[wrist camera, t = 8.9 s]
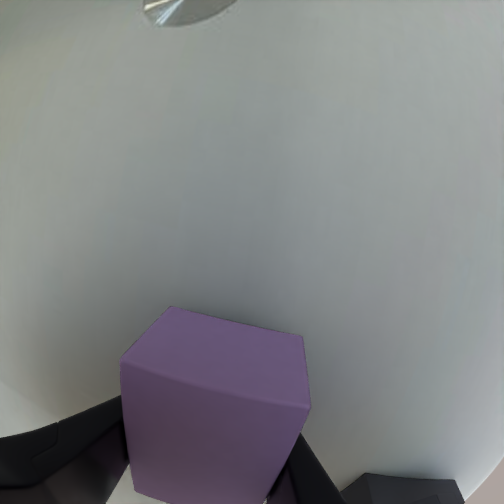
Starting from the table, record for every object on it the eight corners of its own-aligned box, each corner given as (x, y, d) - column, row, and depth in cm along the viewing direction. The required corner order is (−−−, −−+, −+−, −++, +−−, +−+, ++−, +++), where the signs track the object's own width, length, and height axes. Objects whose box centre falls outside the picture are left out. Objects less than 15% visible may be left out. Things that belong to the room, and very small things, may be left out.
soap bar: (170, 304, 8) (117, 357, 5) (303, 334, 8) (312, 407, 5) (162, 434, 10) (133, 491, 6) (260, 459, 9) (252, 522, 6)
